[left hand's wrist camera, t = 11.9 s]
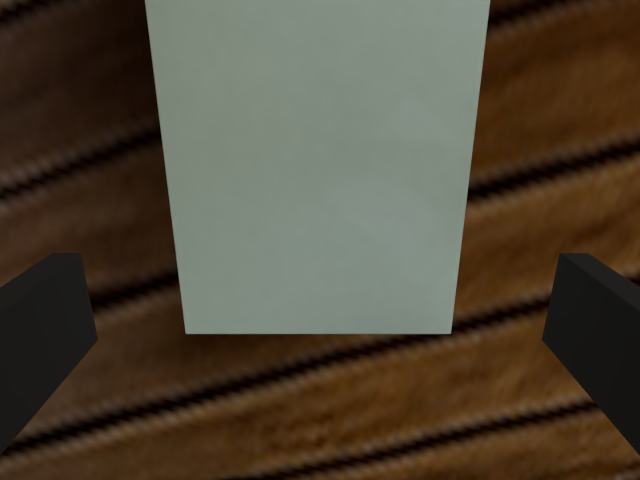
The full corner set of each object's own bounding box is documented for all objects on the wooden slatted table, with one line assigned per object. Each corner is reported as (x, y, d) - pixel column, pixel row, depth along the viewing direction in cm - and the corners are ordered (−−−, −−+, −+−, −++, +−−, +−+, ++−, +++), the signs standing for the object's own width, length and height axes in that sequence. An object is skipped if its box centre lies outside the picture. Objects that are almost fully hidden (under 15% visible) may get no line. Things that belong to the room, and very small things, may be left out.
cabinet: (188, -206, 19) (93, -410, 11) (447, -206, 19) (539, -410, 11) (225, 257, 27) (185, 334, 19) (411, 257, 27) (450, 334, 19)
